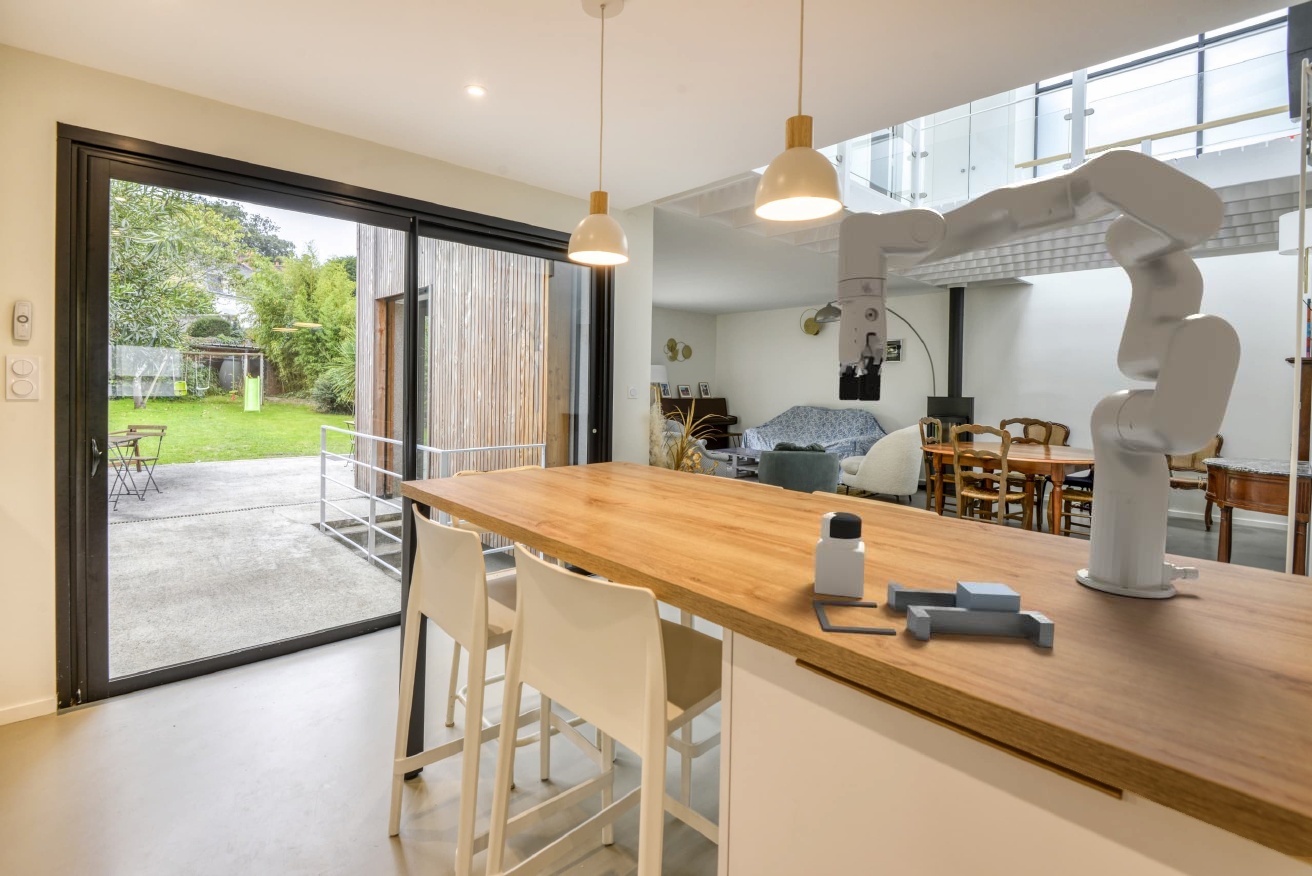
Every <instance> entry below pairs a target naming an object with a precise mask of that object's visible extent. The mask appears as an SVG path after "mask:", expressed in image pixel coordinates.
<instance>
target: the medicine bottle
mask: <svg viewBox="0 0 1312 876" xmlns="http://www.w3.org/2000/svg"><path fill="white" fill-rule="evenodd" d="M820 521H821V522H820V523H821V524H820V538H819V539H818V541H817V543H816V547H815V553H814V554H815V556H814V559H815V561H814V592H815V594H819V595H820V594H821V595H828V596H837V597H846V598H855V599H856V598H857V599H862V598H863V597H864V588H865V587H864V586H865V585H864V584H865V581H864V580H865V557H866V556H865V555H866V553H865V552H866V551H865V549H866V548H865V544H866V543H865V542H864V541H862V529H863V527H862V526H863V525H862V523H863V521H862V518H861V517H860V516H858V515H857V514H855V513H850V512H844V511H843V512H842V511H833V512H830V511H829V512H827V513H825V514H823V515H822V516H821V520H820Z"/></svg>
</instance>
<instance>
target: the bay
mask: <svg viewBox="0 0 1312 876" xmlns="http://www.w3.org/2000/svg"><path fill="white" fill-rule="evenodd" d="M812 604H813V606H814V609H815V611H816V613H817V617H818V620H819V622H820V624H821V627H822V629H823V631H824V632H841V633H842V632H843V633H859V634H881V635H897V631H896V629H894V628H880V627H879V628H877V627H863V626H862V627H861V626H860V627H859V626H843V625H842V626H841V625H840V626H837V625H831V624H830V620H829V619H828V616H827V613H826V612H825V610H824V608H823V605H831V606H846V605H847V607H848V606H849V607H850V606H851V607H852V606H853V607H870V608H877V607H878V604H877V603H876V602H869V601H853V600H851V601H848V600H828V599H827V600H826V599H812Z"/></svg>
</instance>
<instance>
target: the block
mask: <svg viewBox="0 0 1312 876" xmlns="http://www.w3.org/2000/svg"><path fill="white" fill-rule="evenodd" d="M955 591H956V608H974V609H995V610H1016V611H1021V595H1020V594H1019V593H1017V592H1016V591H1015V590H1013V589H1011V588H1010V587H1008V586H1007V585H1006V584H1005V583H998V582H997V583H995V582H975V581H956V590H955Z"/></svg>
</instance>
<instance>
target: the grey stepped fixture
mask: <svg viewBox="0 0 1312 876" xmlns="http://www.w3.org/2000/svg"><path fill="white" fill-rule="evenodd" d="M886 595H887V599H886V601H887V604H888V605H889V606H890V608H891V609H892V611H893V612H895V613H906V629H907V631H908V632H910V634H911V636H913V638H914V640H916V641H930V633H936V634H937V633H939V634H956V635H973V636H974V635H976V636H993V637H994V636H995V637H996V636H998V637H1015V638H1028V639H1029V640H1030V641H1032V643H1034V644H1035V645H1037V646H1038V647H1039V648H1040V647H1042V648H1054V640H1055V622H1053V621H1052V620H1050V618H1048V617H1046V616H1045V615H1043V614H1042V613H1041V612H1039V611H1033V610H1020V611H1016V610H995V609H974V608H956V590H940V589H939V590H938V589H923V588H922V589H920V588H919V589H918V588H905V587H904V586H903V585H902V584H901V583H900V582H893V581H888V582H887V594H886Z"/></svg>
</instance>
